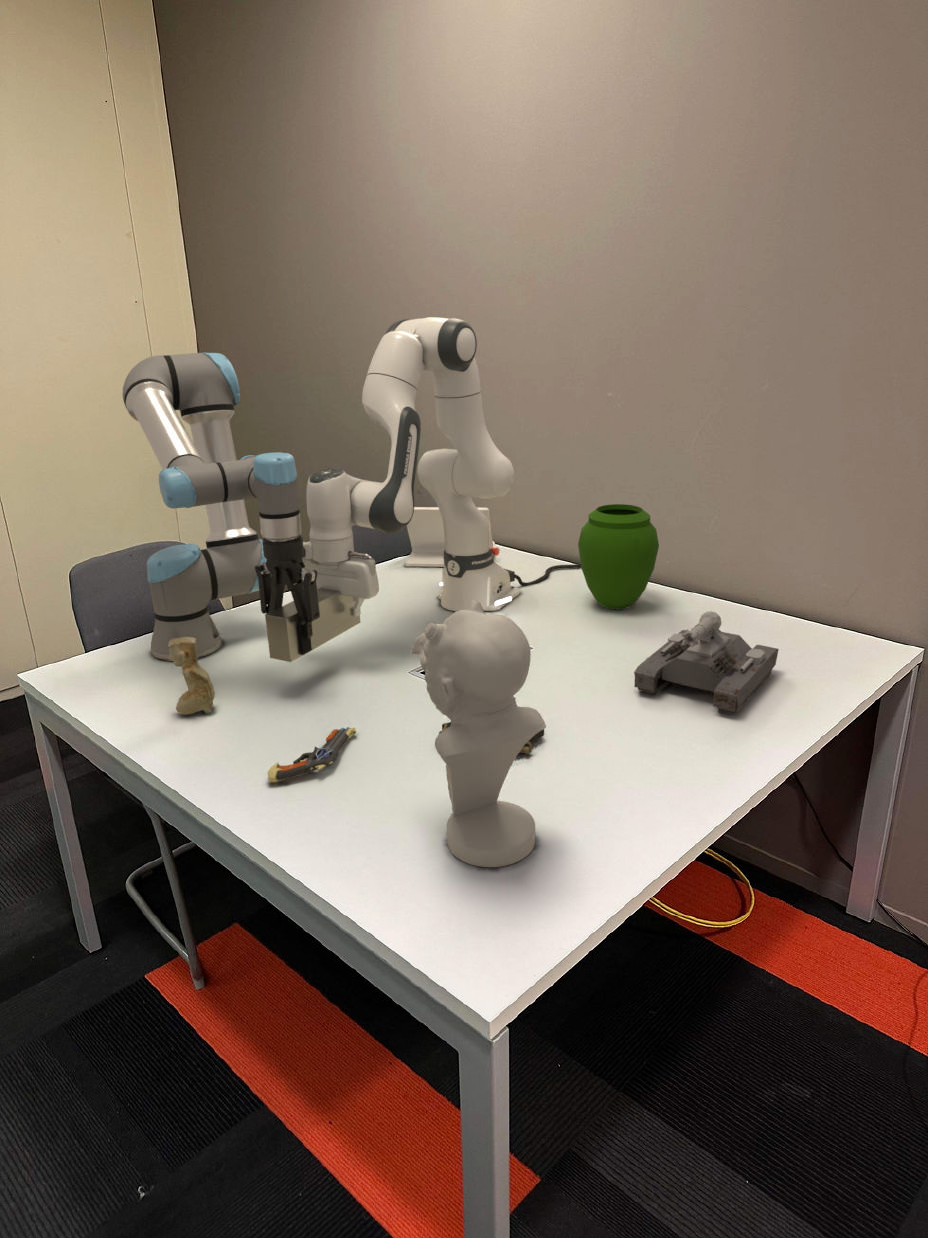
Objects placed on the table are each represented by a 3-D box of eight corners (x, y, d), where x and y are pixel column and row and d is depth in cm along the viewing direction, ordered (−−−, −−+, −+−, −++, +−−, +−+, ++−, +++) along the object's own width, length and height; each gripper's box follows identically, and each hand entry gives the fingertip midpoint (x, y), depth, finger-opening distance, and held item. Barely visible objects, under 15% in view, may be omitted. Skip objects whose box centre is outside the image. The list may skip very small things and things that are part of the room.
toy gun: (262, 772, 138) (320, 770, 136) (304, 725, 156) (356, 722, 154) (265, 787, 138) (323, 785, 136) (307, 738, 156) (359, 736, 154)
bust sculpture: (481, 772, 140) (476, 569, 128) (565, 848, 120) (569, 617, 108) (392, 800, 134) (378, 588, 121) (465, 886, 114) (457, 642, 101)
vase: (599, 587, 227) (601, 497, 218) (668, 600, 216) (673, 505, 208) (562, 608, 212) (564, 513, 204) (634, 623, 202) (639, 523, 193)
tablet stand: (488, 567, 247) (487, 509, 241) (404, 566, 250) (401, 509, 244) (495, 549, 263) (494, 495, 257) (415, 549, 267) (413, 495, 261)
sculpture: (181, 705, 167) (169, 634, 162) (218, 702, 168) (208, 632, 162) (175, 719, 162) (163, 646, 156) (213, 716, 162) (203, 643, 157)
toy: (682, 651, 185) (687, 585, 180) (776, 671, 174) (784, 601, 169) (632, 694, 166) (636, 622, 161) (734, 719, 155) (741, 643, 150)
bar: (290, 662, 165) (286, 618, 162) (269, 658, 167) (264, 614, 164) (360, 622, 184) (357, 582, 181) (340, 619, 187) (337, 579, 183)
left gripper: (333, 536, 160) (342, 650, 168) (258, 527, 168) (270, 636, 177) (308, 546, 154) (319, 664, 162) (231, 536, 162) (246, 649, 170)
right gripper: (383, 550, 174) (386, 614, 178) (303, 540, 183) (308, 601, 188) (365, 558, 168) (369, 624, 173) (284, 547, 178) (290, 610, 182)
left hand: (294, 649), depth 169 cm, fingers closed on bar, 5 cm apart
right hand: (337, 612), depth 181 cm, fingers open, 8 cm apart
